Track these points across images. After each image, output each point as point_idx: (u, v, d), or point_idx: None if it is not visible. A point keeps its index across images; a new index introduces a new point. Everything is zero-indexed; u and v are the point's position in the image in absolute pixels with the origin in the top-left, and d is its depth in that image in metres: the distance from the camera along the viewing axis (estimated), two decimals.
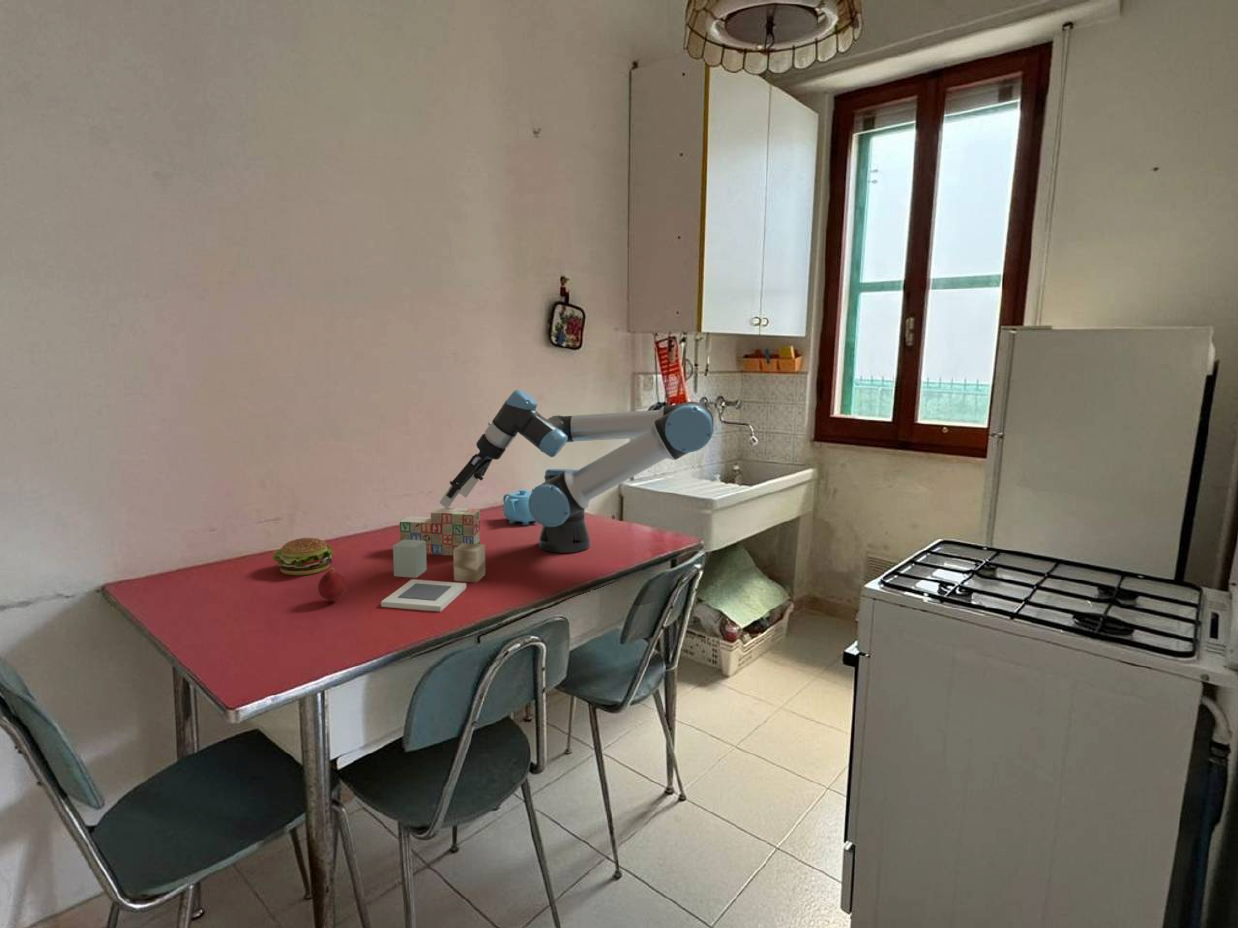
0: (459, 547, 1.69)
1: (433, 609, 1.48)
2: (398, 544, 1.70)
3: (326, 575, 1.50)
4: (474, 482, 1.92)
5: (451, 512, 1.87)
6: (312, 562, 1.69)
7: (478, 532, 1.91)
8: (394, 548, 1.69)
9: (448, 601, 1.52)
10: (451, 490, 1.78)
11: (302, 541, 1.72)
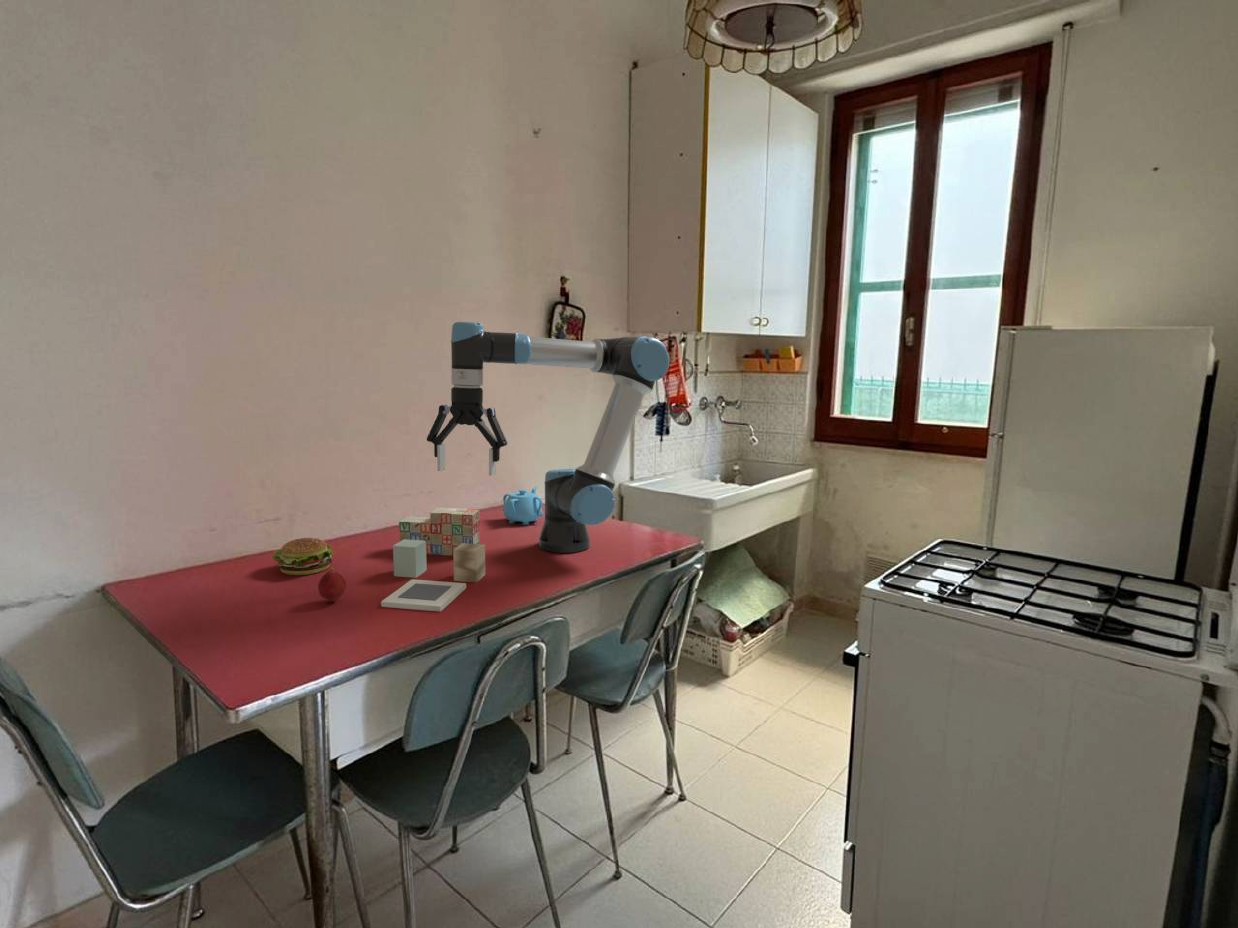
0: (459, 547, 1.69)
1: (433, 609, 1.48)
2: (398, 544, 1.70)
3: (326, 575, 1.50)
4: (444, 448, 1.68)
5: (450, 512, 1.87)
6: (312, 562, 1.69)
7: (477, 532, 1.91)
8: (394, 548, 1.69)
9: (448, 601, 1.52)
10: (498, 452, 1.64)
11: (302, 541, 1.72)
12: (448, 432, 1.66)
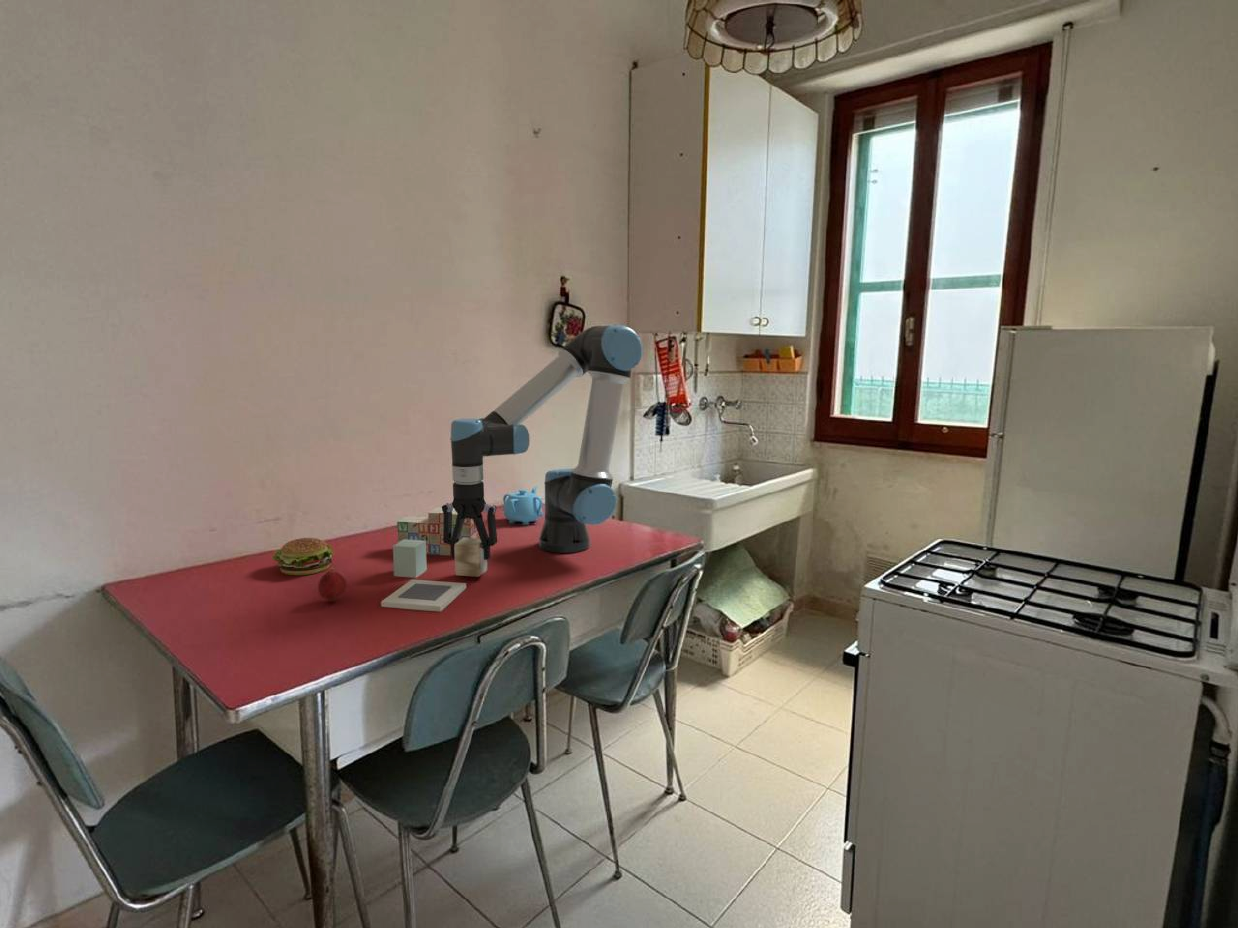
0: (460, 541, 1.69)
1: (433, 609, 1.48)
2: (398, 544, 1.70)
3: (326, 575, 1.50)
4: None
5: None
6: (312, 562, 1.69)
7: (476, 532, 1.91)
8: (394, 548, 1.69)
9: (448, 601, 1.52)
10: (488, 551, 1.68)
11: (302, 541, 1.72)
12: (460, 529, 1.68)
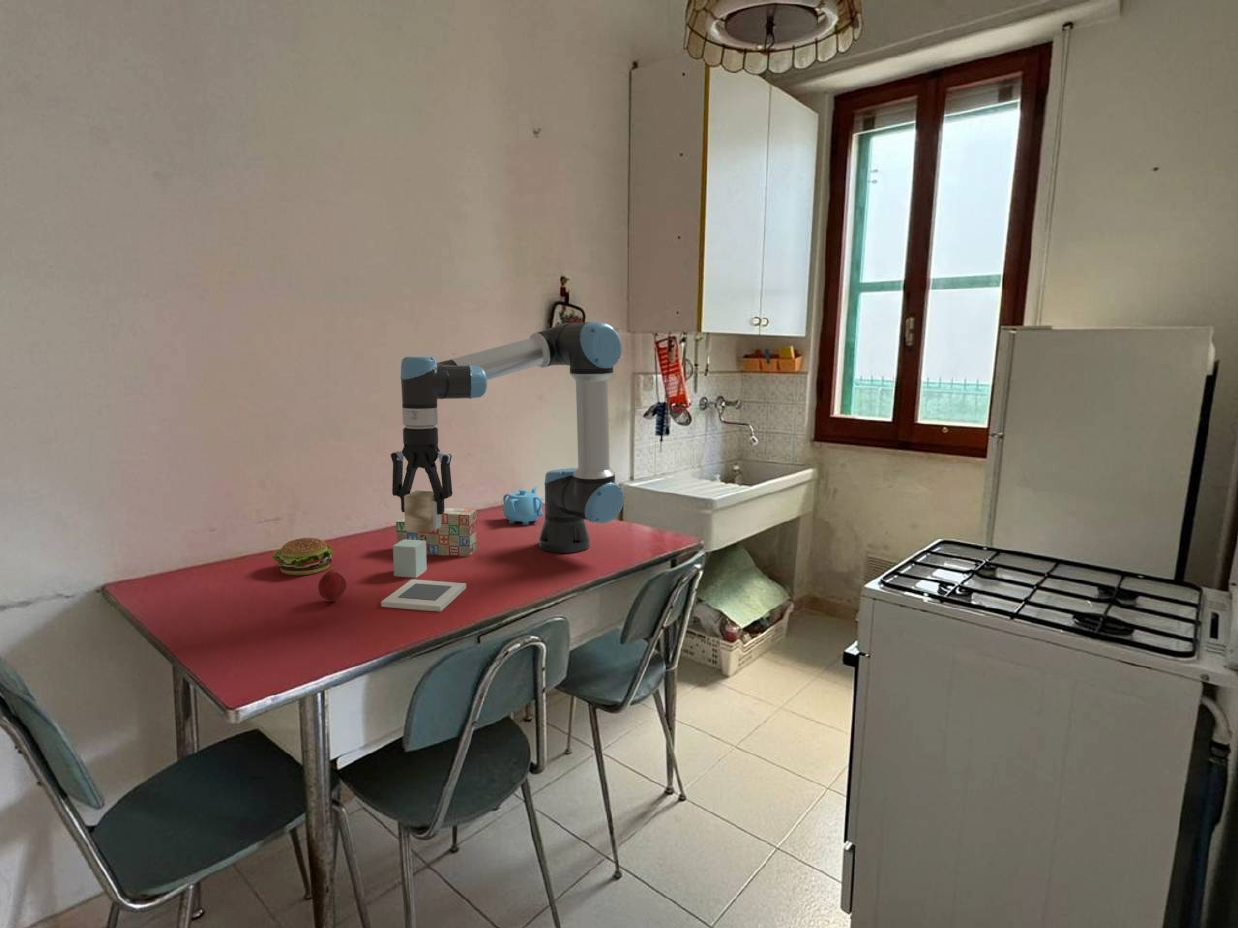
0: (411, 494, 1.52)
1: (433, 609, 1.48)
2: (398, 544, 1.70)
3: (326, 575, 1.50)
4: None
5: (447, 512, 1.87)
6: (312, 562, 1.69)
7: (474, 532, 1.91)
8: (394, 548, 1.69)
9: (448, 601, 1.52)
10: (442, 505, 1.52)
11: (302, 541, 1.72)
12: (411, 480, 1.52)
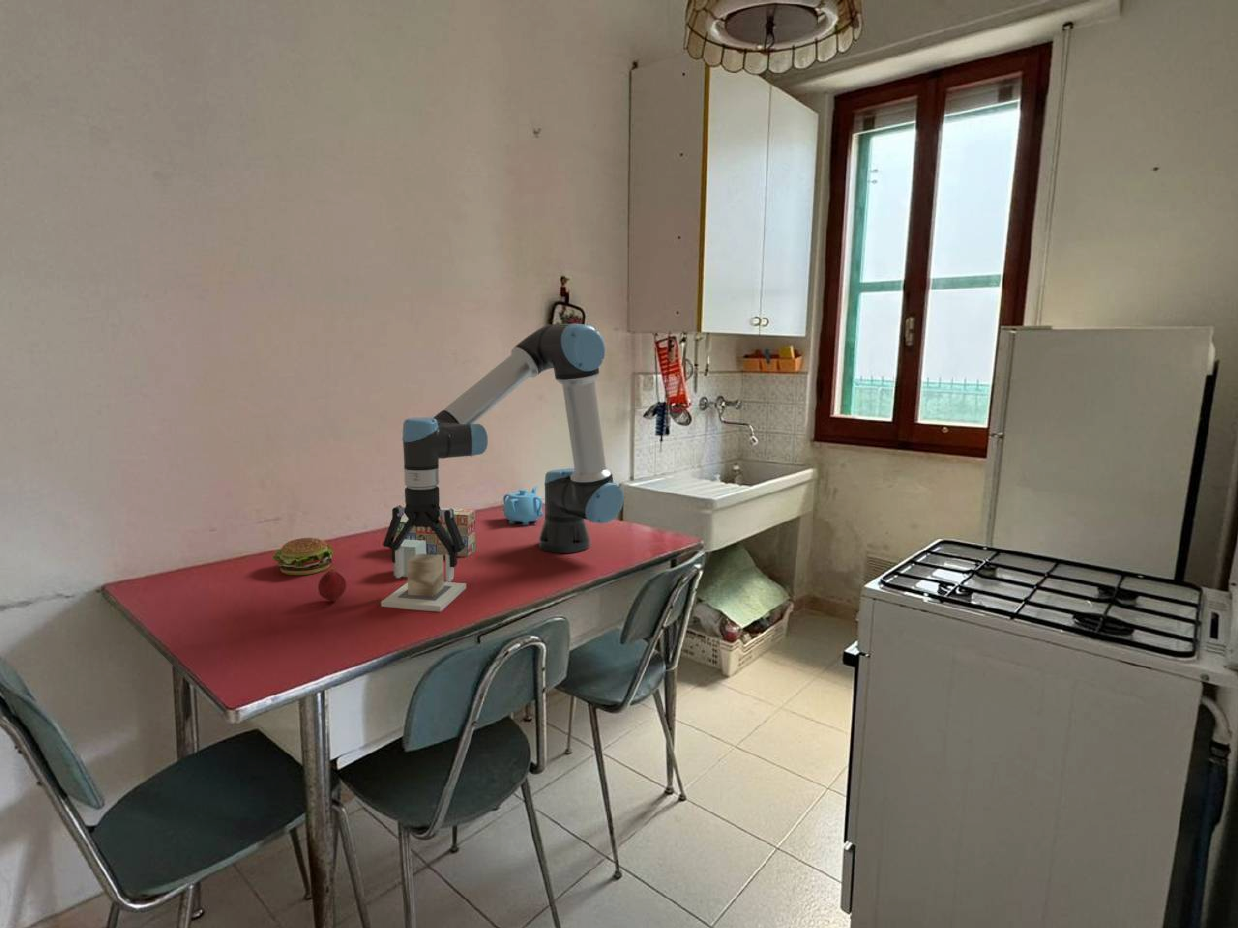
0: (414, 558, 1.54)
1: (433, 609, 1.48)
2: None
3: (326, 575, 1.50)
4: (402, 552, 1.56)
5: None
6: (312, 562, 1.69)
7: (473, 532, 1.91)
8: None
9: (448, 601, 1.52)
10: (455, 557, 1.53)
11: (302, 541, 1.72)
12: (405, 535, 1.54)
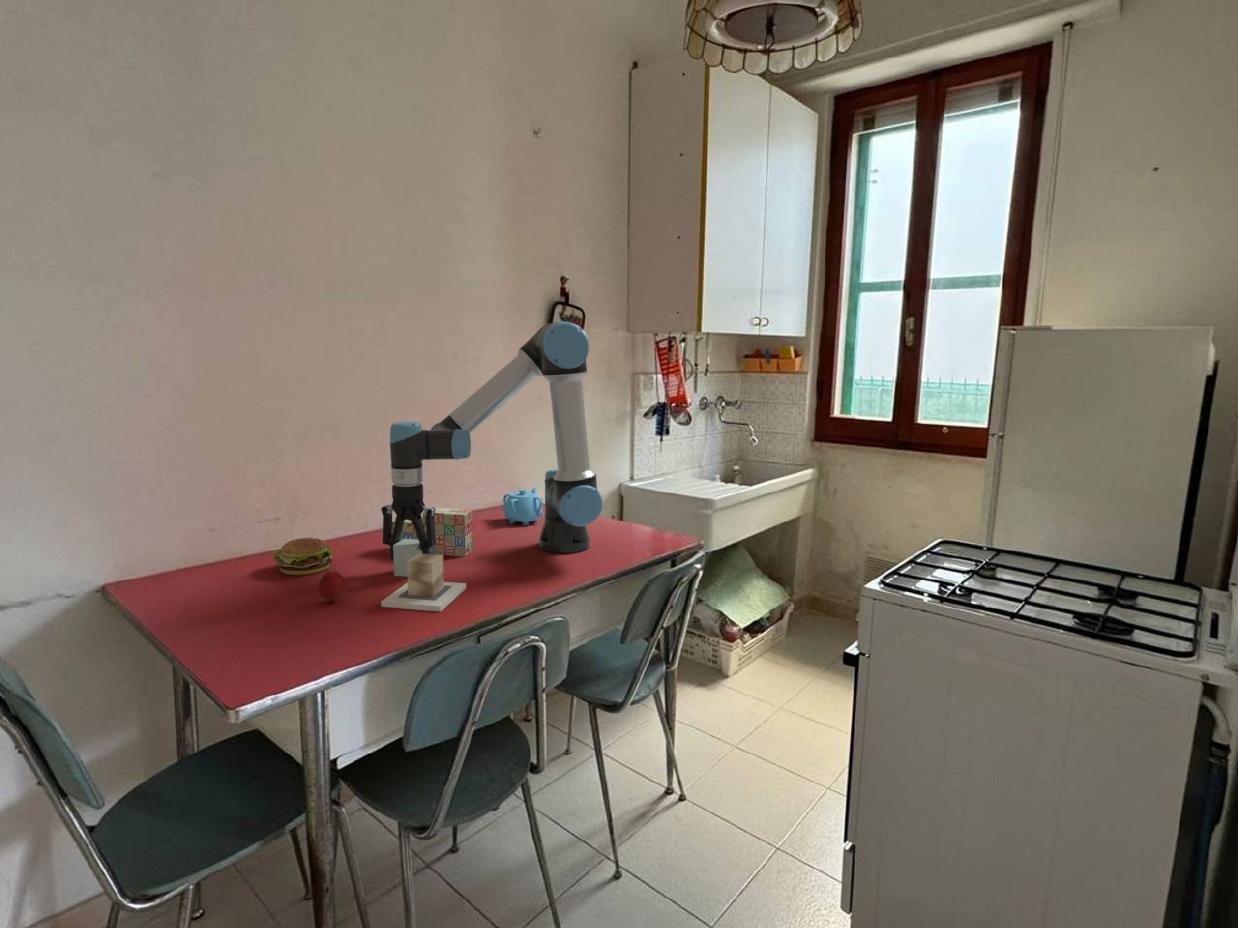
0: (414, 558, 1.54)
1: (433, 609, 1.48)
2: (398, 543, 1.70)
3: (326, 575, 1.50)
4: None
5: (443, 512, 1.87)
6: (312, 562, 1.69)
7: (470, 532, 1.90)
8: (394, 547, 1.69)
9: (448, 601, 1.52)
10: (427, 552, 1.71)
11: (302, 541, 1.72)
12: (399, 530, 1.71)
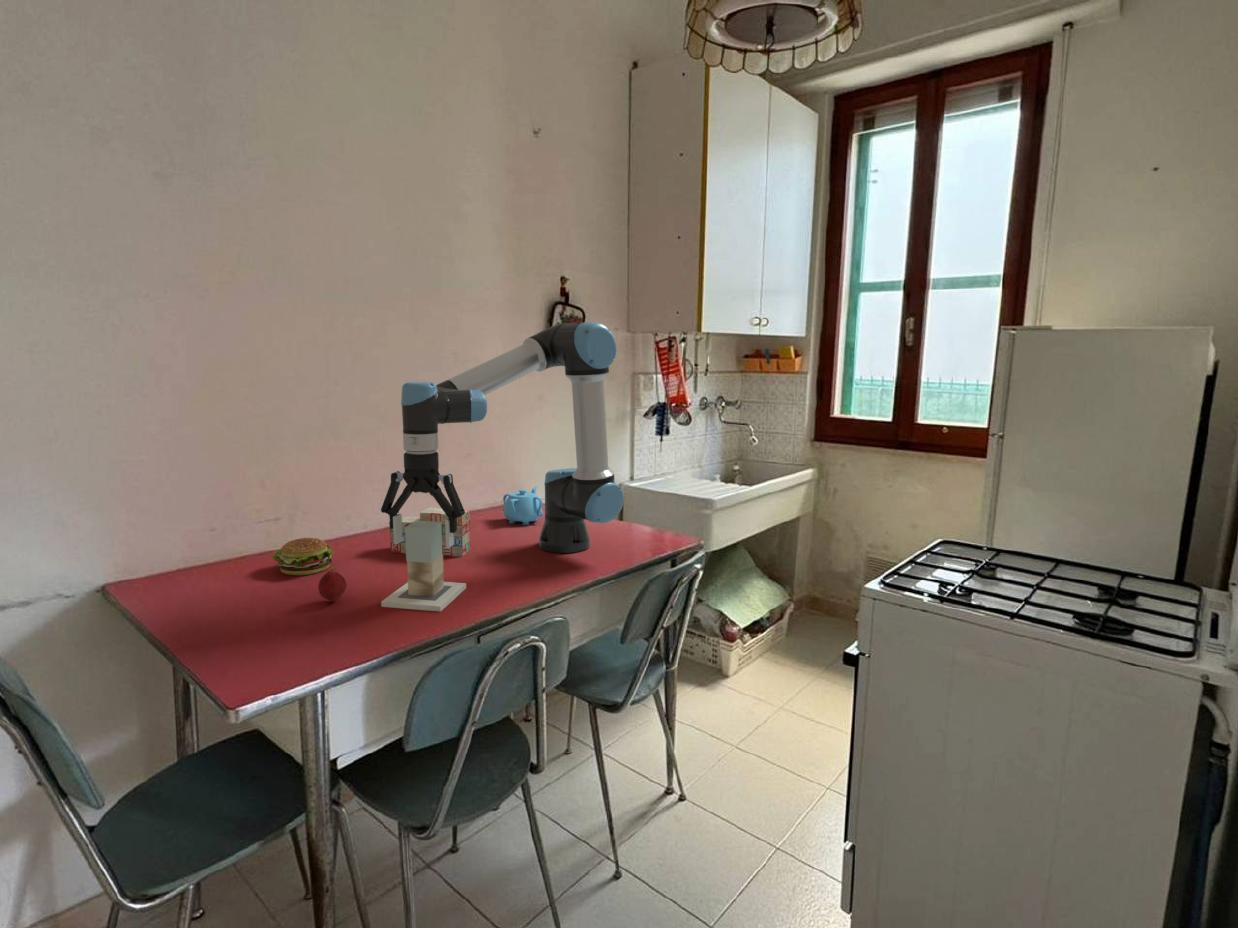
0: None
1: (433, 609, 1.48)
2: (411, 525, 1.52)
3: (326, 575, 1.50)
4: (400, 519, 1.55)
5: (440, 512, 1.87)
6: (312, 562, 1.69)
7: (468, 532, 1.90)
8: (406, 530, 1.51)
9: (448, 601, 1.52)
10: (455, 523, 1.52)
11: (302, 541, 1.72)
12: (404, 500, 1.53)
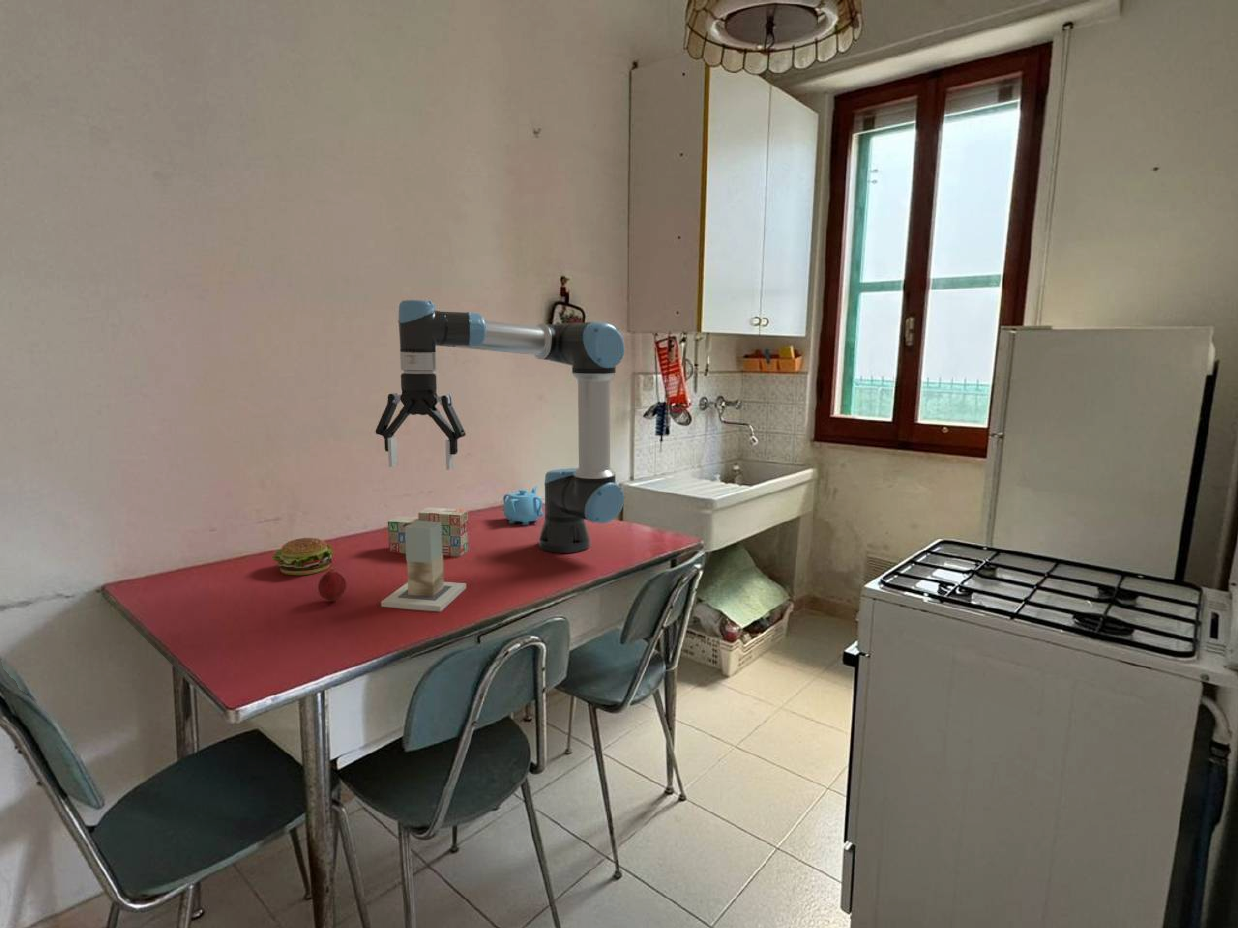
0: None
1: (433, 609, 1.48)
2: (411, 525, 1.52)
3: (326, 575, 1.50)
4: (395, 441, 1.52)
5: (438, 512, 1.87)
6: (312, 562, 1.69)
7: (466, 532, 1.90)
8: (406, 530, 1.51)
9: (448, 601, 1.52)
10: (455, 444, 1.49)
11: (302, 541, 1.72)
12: (400, 423, 1.50)
